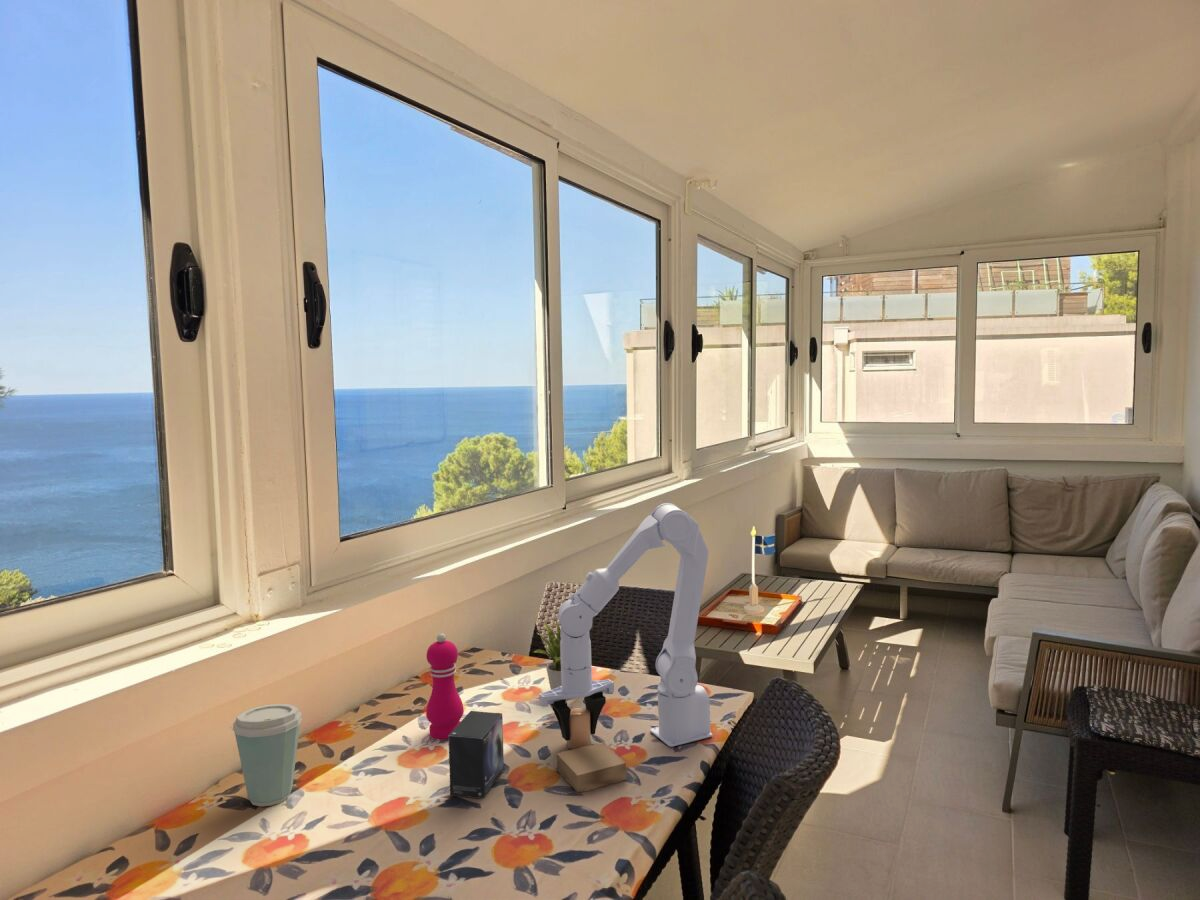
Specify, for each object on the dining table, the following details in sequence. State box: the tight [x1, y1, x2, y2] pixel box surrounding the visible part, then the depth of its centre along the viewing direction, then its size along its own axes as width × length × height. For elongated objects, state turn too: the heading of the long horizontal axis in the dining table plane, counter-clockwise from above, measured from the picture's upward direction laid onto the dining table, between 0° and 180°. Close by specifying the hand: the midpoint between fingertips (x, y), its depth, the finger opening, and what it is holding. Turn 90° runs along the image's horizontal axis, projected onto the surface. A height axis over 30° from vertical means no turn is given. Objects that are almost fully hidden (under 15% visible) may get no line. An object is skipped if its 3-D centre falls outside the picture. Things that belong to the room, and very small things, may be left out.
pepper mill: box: [425, 633, 465, 741], centre depth 154 cm, size 7×7×20 cm
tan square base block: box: [556, 742, 627, 794], centre depth 136 cm, size 9×9×3 cm
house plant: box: [533, 620, 594, 690], centre depth 171 cm, size 14×14×16 cm
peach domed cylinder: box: [566, 707, 592, 750], centre depth 148 cm, size 5×5×6 cm
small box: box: [448, 710, 505, 799], centre depth 134 cm, size 11×6×10 cm, turn 168°
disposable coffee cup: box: [232, 703, 303, 807], centre depth 131 cm, size 11×11×15 cm
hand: (578, 735), depth 148 cm, fingers closed on peach domed cylinder, 5 cm apart
